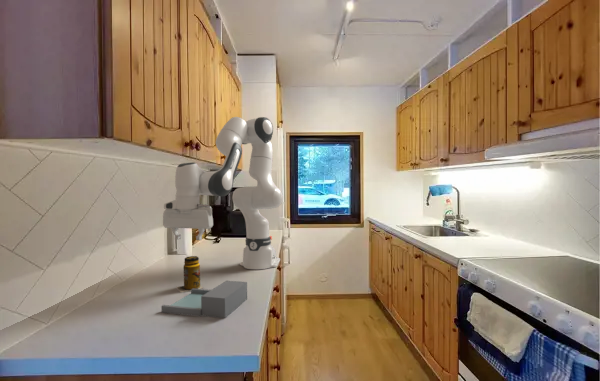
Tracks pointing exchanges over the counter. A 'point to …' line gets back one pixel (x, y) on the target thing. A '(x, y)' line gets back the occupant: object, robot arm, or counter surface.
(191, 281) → the condiment
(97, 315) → the counter surface
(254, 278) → the counter surface
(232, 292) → the teal-floored tray
